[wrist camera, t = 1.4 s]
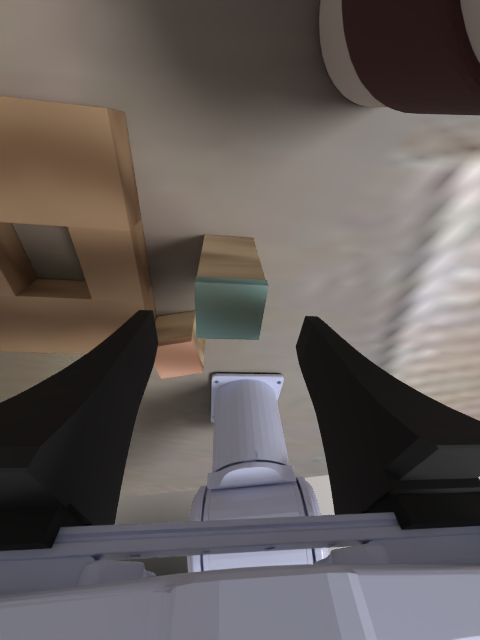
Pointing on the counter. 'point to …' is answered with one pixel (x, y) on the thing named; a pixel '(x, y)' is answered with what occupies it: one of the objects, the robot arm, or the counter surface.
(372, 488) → the robot arm
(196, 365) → the tan cubic piece
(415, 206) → the counter surface
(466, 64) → the coffee cup
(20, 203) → the hole board
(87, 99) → the counter surface
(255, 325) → the square peg
